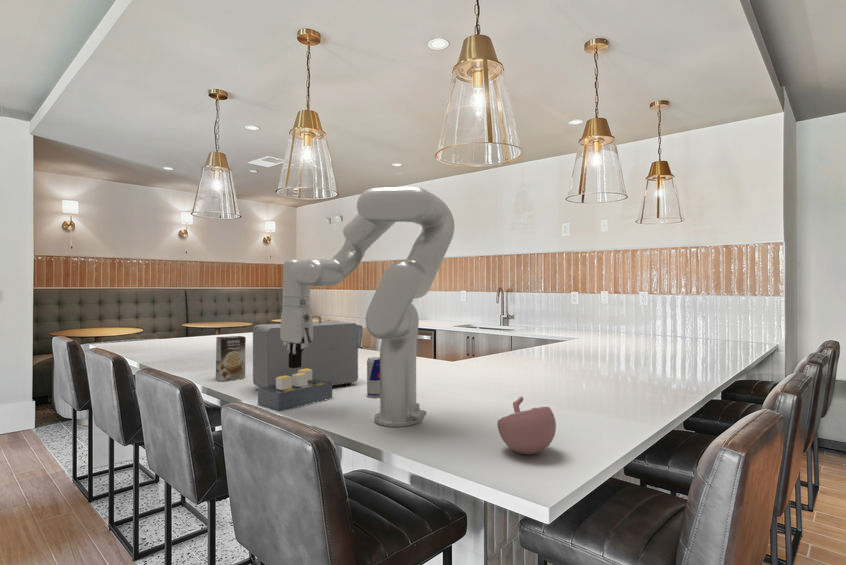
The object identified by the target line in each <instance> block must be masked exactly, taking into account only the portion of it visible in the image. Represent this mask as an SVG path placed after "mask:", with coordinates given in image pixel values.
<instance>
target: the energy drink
mask: <svg viewBox="0 0 846 565" xmlns="http://www.w3.org/2000/svg"><path fill="white" fill-rule="evenodd" d="M366 395H367V397H368V398H373V399H374V398H375V399H376V398H378V397H379V398H380V356H373V357H368V358H367V360H366ZM379 398H378V399H379Z"/></svg>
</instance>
